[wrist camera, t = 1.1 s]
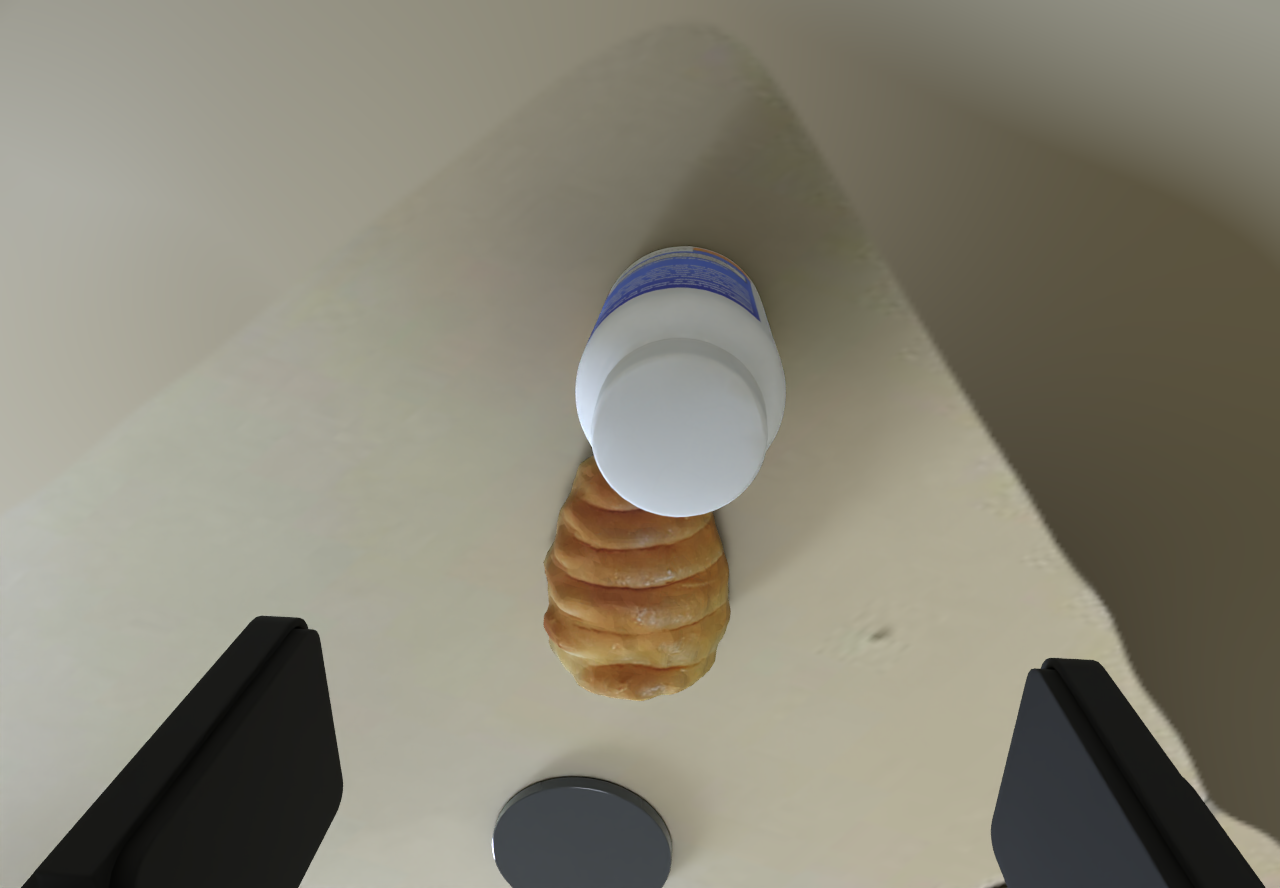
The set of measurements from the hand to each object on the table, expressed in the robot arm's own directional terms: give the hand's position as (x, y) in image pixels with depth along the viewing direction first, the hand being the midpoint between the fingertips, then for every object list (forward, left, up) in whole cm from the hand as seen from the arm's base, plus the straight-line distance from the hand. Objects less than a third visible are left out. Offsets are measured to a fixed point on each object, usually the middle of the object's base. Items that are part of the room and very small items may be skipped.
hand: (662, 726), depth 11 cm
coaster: (+23, -4, -18) cm, 30 cm away
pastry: (+8, -2, -18) cm, 20 cm away
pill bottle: (-1, 0, -18) cm, 18 cm away
